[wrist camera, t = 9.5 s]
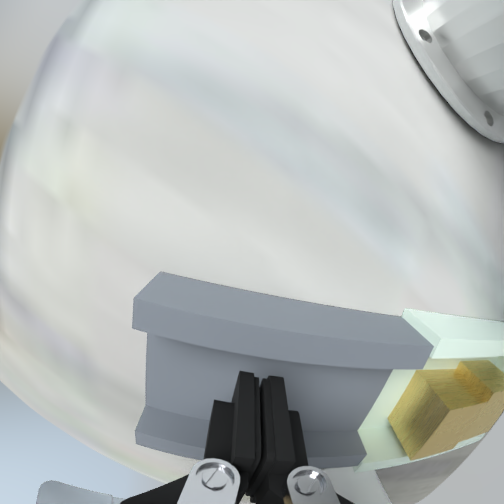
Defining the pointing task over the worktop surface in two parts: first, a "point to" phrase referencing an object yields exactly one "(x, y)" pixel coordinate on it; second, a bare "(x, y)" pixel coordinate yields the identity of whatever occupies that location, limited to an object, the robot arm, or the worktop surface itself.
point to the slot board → (264, 363)
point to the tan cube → (484, 393)
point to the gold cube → (435, 412)
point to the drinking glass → (358, 485)
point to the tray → (442, 357)
